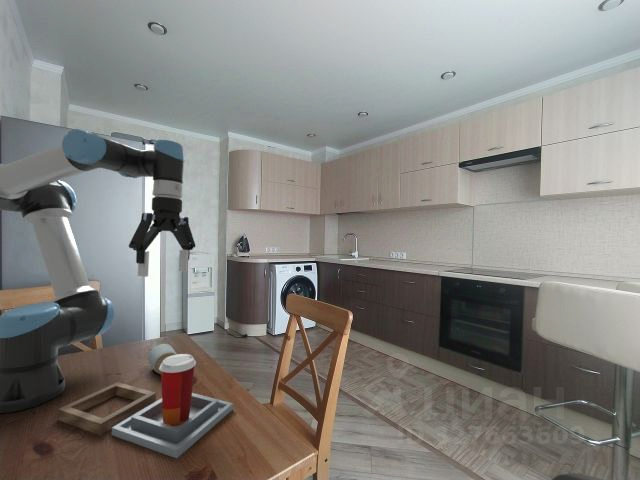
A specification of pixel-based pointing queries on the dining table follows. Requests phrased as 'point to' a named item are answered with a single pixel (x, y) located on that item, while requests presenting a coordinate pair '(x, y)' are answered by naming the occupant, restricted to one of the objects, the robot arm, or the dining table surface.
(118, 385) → the walnut collar
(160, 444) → the grey tray
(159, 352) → the ceramic mug
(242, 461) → the dining table surface
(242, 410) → the dining table surface
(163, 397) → the paper cup
